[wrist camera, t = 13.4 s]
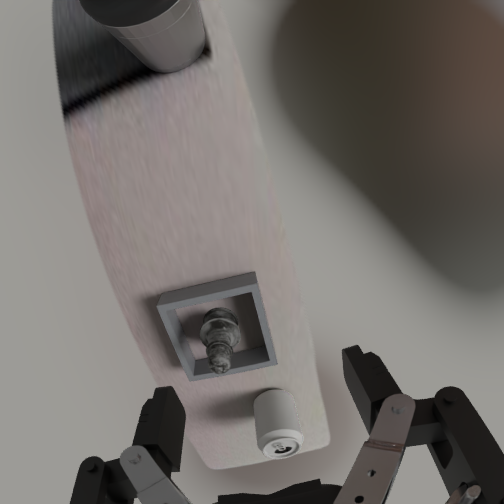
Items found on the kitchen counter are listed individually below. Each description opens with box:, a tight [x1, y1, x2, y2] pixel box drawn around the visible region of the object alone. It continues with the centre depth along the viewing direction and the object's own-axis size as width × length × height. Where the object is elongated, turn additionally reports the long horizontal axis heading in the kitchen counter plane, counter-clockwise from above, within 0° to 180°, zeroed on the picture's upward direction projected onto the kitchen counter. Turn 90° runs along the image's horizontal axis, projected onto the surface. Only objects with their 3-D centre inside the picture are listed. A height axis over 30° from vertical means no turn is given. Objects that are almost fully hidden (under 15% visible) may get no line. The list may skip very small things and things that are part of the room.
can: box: [253, 389, 304, 459], centre depth 47 cm, size 8×8×12 cm
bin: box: [157, 272, 278, 381], centre depth 44 cm, size 14×14×4 cm
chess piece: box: [200, 308, 241, 374], centre depth 41 cm, size 6×6×12 cm
